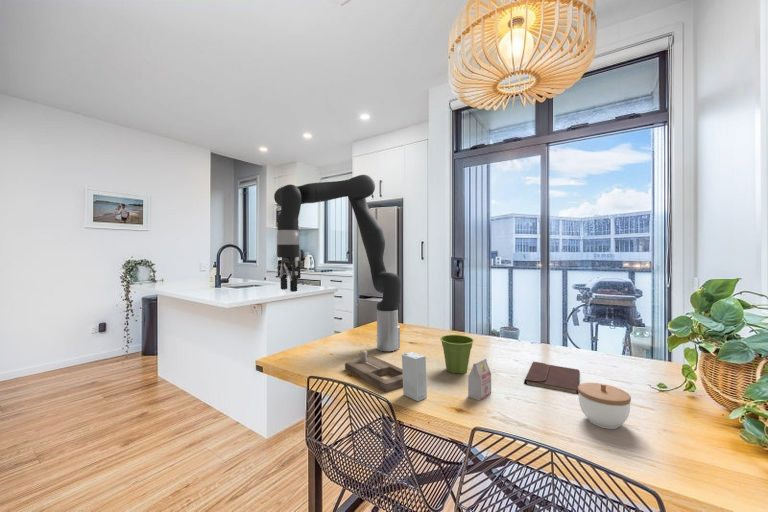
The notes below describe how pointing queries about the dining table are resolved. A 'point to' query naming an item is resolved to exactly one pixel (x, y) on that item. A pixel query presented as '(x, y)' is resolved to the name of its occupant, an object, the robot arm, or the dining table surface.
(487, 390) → the milk carton
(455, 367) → the plant pot
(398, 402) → the dining table surface
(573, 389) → the notebook
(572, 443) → the dining table surface
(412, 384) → the skincare box
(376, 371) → the brown piece
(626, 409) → the lidded jar
